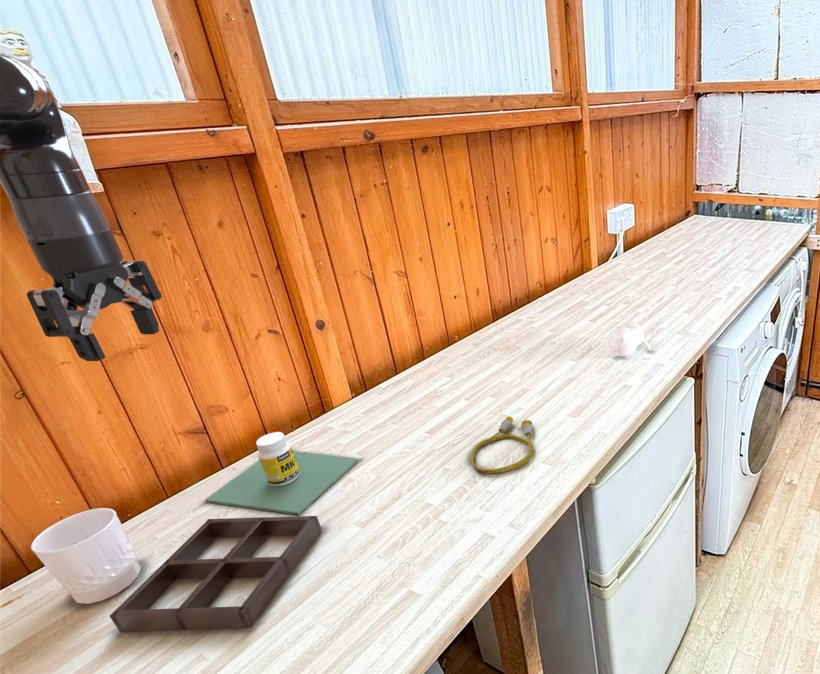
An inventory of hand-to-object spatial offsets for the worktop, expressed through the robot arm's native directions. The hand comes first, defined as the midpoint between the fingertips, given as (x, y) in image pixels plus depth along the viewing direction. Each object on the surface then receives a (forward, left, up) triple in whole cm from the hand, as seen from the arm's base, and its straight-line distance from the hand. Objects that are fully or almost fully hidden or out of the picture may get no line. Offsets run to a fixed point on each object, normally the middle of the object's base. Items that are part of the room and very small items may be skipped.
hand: (124, 346), depth 72 cm
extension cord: (+42, +24, -30) cm, 57 cm away
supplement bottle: (+7, +9, -30) cm, 32 cm away
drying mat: (+7, +9, -30) cm, 32 cm away
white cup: (0, -14, -30) cm, 33 cm away
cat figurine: (+56, +68, -30) cm, 93 cm away
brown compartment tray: (+16, -10, -30) cm, 35 cm away
